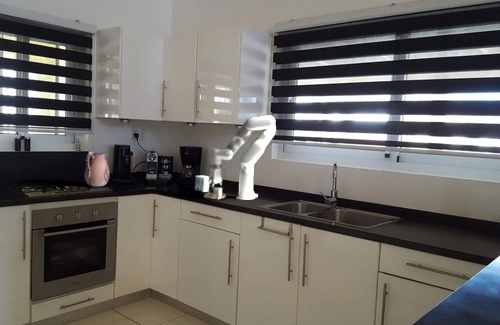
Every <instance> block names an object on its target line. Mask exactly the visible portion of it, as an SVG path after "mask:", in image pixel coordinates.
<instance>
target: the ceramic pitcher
mask: <svg viewBox="0 0 500 325" xmlns="http://www.w3.org/2000/svg"><path fill="white" fill-rule="evenodd" d="M106 154H107V153H106V152H101V151H99V152H95V151H90V152H88V154H87V155H86V156H85V165H86V167H85V169H84V170H85V171H84V180H85V182H86V184H87V185H89V186H90V187H94V188H95V187H104V186H105V185H107V183H108V182H109V179H110V170H109V166H108V164H107V160H106Z"/></svg>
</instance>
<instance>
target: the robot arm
mask: <svg viewBox="0 0 500 325" xmlns="http://www.w3.org/2000/svg"><path fill="white" fill-rule="evenodd" d="M276 130H277V127H276V119H275V117H274V116H273V115H270V114H269V115H263V116H257V117H250V118H247V119H246V120H245V122H244V123H243V124H242V126H241V127H240V128H239V129H238V130H237V132H236V133H235V134H234V136H233V138H232V139H231V140H230V142H229V143H228V144H227V145H226V147H225V148H223V149H221V148H211V149H210V166H209V172H208V173H209V174H208V177H209V180H208V185H209V193H214V187H215V185H216V187H219V188H222V183H223V176H222V160H223V161H230V160H232V159H233V157H234V155H235V153H237V151H238V150H239V149H240V147H241V146H242V145H244V144H245V143H246V142H247V141H248V139H249V138H250V137H251V136H252V135H253V133H254V132H255V131H260V134H259V135H258V136H257V137H256V138H255V139H254V140H253V141H252V142H251V144H250V145H249V147H248V148H247V149H246V150H245V152H243V153H242V154H241V155H240V158H239V180H238V181H239V184H238V195H236V199H238V200H246V201H247V200H249V201H250V200H254V199H256V198H258V196H259V195H258V193H255V191H254V173H255V171H254V168H255V164H256V163H257V161H258V160H259V159H260V157H262V155H263V154H264V152H265V149H266V147H267V146H268V145H269V144H270V142H271V140H273V138H274V136H275V135H276Z"/></svg>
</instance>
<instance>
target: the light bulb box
mask: <svg viewBox="0 0 500 325" xmlns="http://www.w3.org/2000/svg"><path fill="white" fill-rule="evenodd" d="M208 180H209V175H208V176H207V175H203V174H202V175H195V182H194V184H195V186H194V188H195V189H194V190H195V191H199V192H203V193H205V192H206V193H208V187H209V185H208Z"/></svg>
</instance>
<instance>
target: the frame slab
mask: <svg viewBox="0 0 500 325" xmlns="http://www.w3.org/2000/svg"><path fill="white" fill-rule="evenodd" d="M213 187H214V193H209V187H208V191H207V194H213V195H220V196H222V193H223V187H221V188H219V187H217V186H213Z"/></svg>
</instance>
